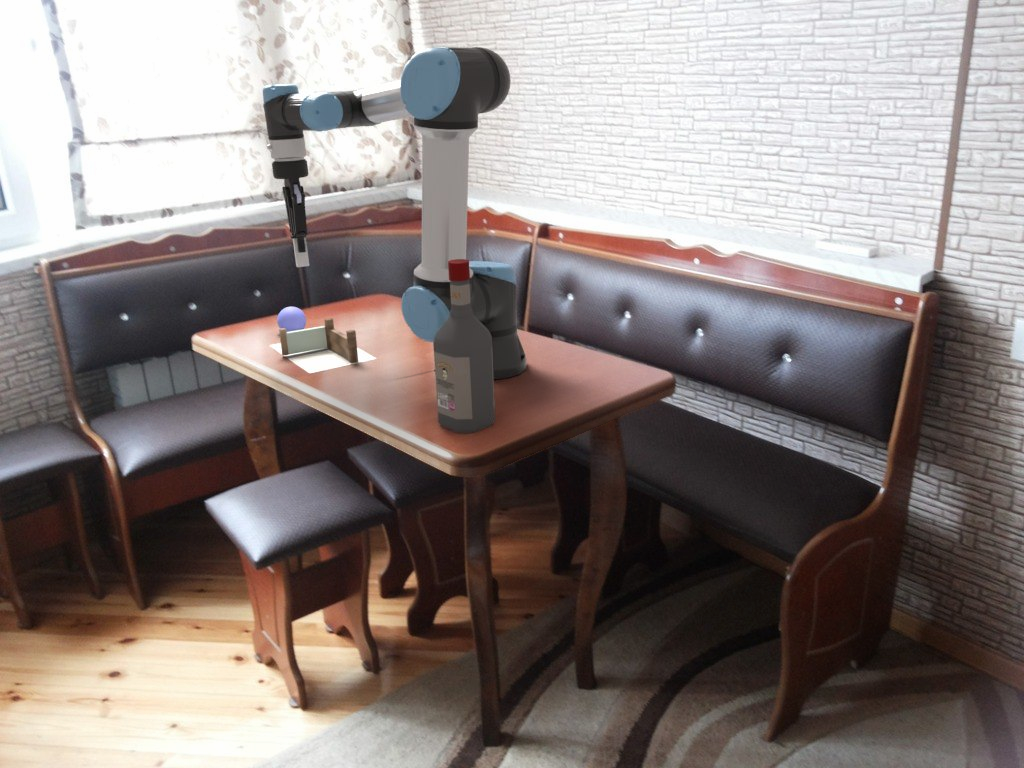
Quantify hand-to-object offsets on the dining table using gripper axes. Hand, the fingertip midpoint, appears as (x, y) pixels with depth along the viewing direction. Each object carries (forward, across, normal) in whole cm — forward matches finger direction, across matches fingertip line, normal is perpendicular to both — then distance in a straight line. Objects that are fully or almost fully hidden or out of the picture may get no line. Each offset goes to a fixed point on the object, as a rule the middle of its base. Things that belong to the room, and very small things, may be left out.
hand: (302, 265), depth 197 cm
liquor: (+22, +59, +16) cm, 64 cm away
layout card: (+20, +3, +1) cm, 20 cm away
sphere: (+20, -16, -2) cm, 26 cm away
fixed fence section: (+20, +8, +5) cm, 22 cm away
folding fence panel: (+19, +2, -2) cm, 19 cm away
